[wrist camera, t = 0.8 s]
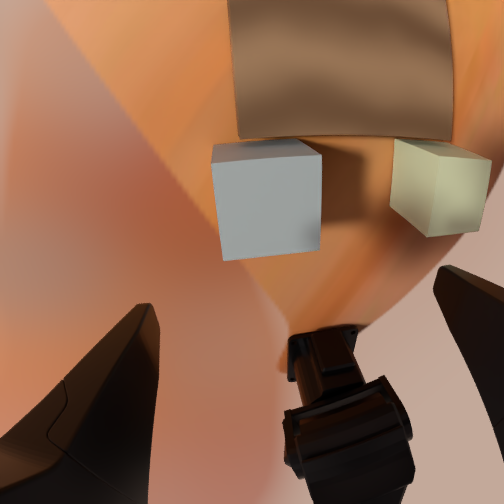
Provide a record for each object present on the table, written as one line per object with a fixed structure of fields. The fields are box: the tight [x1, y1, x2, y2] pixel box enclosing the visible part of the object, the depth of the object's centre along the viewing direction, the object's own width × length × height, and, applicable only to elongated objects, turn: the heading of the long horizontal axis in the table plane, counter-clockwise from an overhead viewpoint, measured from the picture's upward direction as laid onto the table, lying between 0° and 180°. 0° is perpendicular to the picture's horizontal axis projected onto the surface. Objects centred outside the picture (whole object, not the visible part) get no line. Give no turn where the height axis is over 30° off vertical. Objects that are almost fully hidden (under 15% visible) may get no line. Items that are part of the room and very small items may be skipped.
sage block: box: [389, 139, 492, 237], centre depth 17 cm, size 5×5×5 cm
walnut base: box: [227, 0, 453, 141], centre depth 13 cm, size 14×14×2 cm
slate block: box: [211, 139, 322, 261], centre depth 16 cm, size 5×5×5 cm
